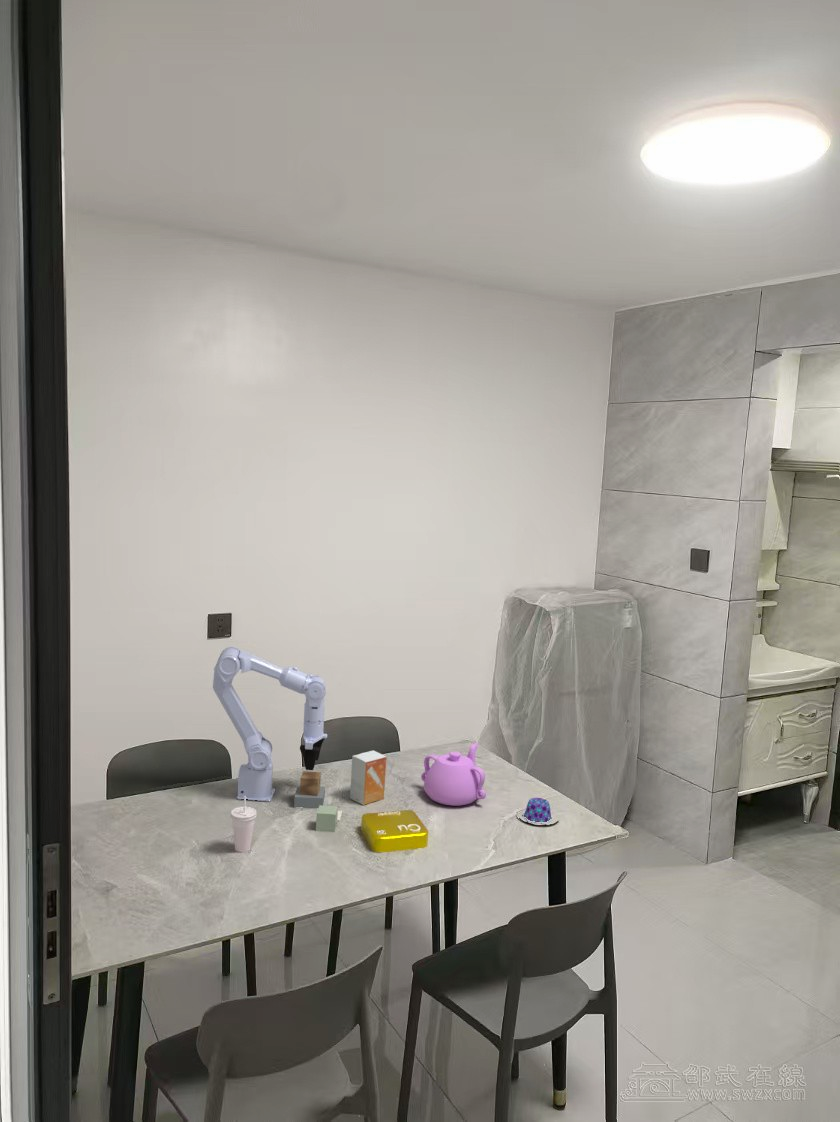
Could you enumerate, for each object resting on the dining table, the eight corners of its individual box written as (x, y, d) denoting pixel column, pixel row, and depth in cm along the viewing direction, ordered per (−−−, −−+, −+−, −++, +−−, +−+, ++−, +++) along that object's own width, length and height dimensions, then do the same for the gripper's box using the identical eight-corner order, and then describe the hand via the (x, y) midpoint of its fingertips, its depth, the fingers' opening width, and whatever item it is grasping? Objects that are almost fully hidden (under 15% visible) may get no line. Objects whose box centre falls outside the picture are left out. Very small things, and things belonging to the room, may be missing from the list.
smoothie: (233, 856, 205) (234, 802, 203) (226, 845, 211) (228, 792, 209) (258, 852, 208) (260, 798, 206) (251, 840, 214) (253, 788, 212)
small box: (363, 805, 239) (365, 762, 237) (349, 798, 243) (351, 755, 241) (384, 798, 244) (387, 756, 242) (370, 791, 249) (372, 749, 247)
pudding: (515, 825, 232) (517, 807, 232) (516, 807, 244) (517, 790, 244) (559, 830, 231) (561, 812, 230) (558, 812, 243) (559, 795, 242)
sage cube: (315, 831, 222) (316, 813, 221) (318, 822, 227) (319, 805, 226) (334, 832, 221) (335, 814, 221) (337, 824, 226) (337, 806, 226)
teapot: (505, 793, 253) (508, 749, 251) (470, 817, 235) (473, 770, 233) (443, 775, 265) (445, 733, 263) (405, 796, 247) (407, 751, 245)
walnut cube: (299, 794, 236) (300, 777, 235) (302, 787, 241) (303, 771, 240) (317, 796, 236) (318, 779, 235) (320, 788, 241) (320, 772, 240)
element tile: (412, 823, 230) (413, 807, 229) (429, 849, 216) (430, 831, 215) (359, 828, 225) (359, 811, 225) (373, 854, 211) (374, 836, 211)
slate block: (293, 808, 235) (294, 797, 234) (296, 797, 243) (297, 785, 242) (322, 810, 235) (323, 798, 235) (324, 798, 243) (325, 786, 243)
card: (317, 819, 228) (317, 818, 228) (321, 810, 234) (321, 809, 234) (339, 821, 228) (339, 819, 228) (342, 811, 234) (342, 810, 234)
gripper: (323, 728, 233) (321, 775, 235) (331, 712, 247) (329, 756, 249) (298, 726, 233) (296, 773, 235) (308, 710, 248) (306, 754, 249)
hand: (311, 764), depth 242 cm, fingers open, 7 cm apart
